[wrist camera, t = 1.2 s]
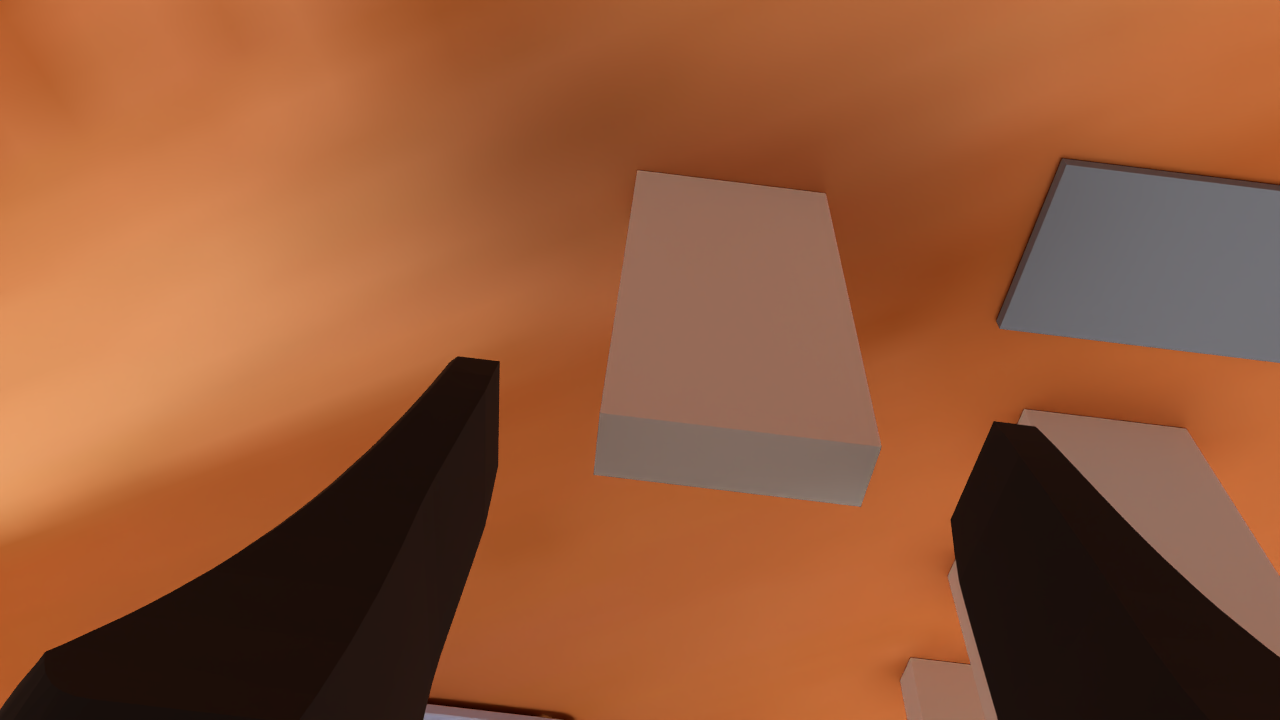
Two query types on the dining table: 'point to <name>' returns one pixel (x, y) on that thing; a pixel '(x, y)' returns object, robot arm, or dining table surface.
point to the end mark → (1153, 262)
